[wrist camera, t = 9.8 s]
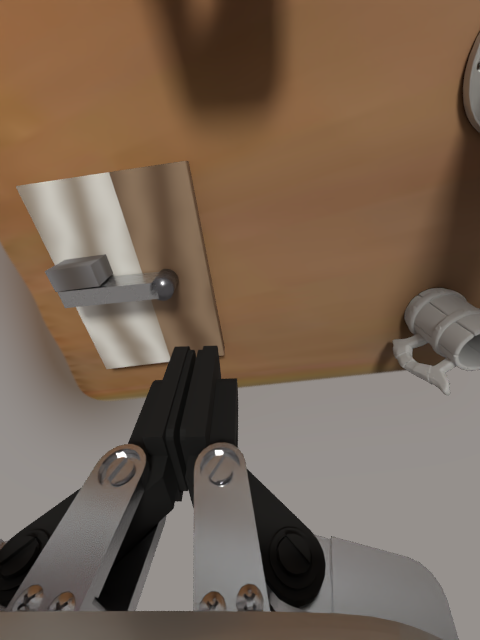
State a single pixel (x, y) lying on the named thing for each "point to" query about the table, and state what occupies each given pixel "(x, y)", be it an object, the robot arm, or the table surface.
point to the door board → (130, 257)
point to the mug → (441, 335)
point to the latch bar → (124, 289)
